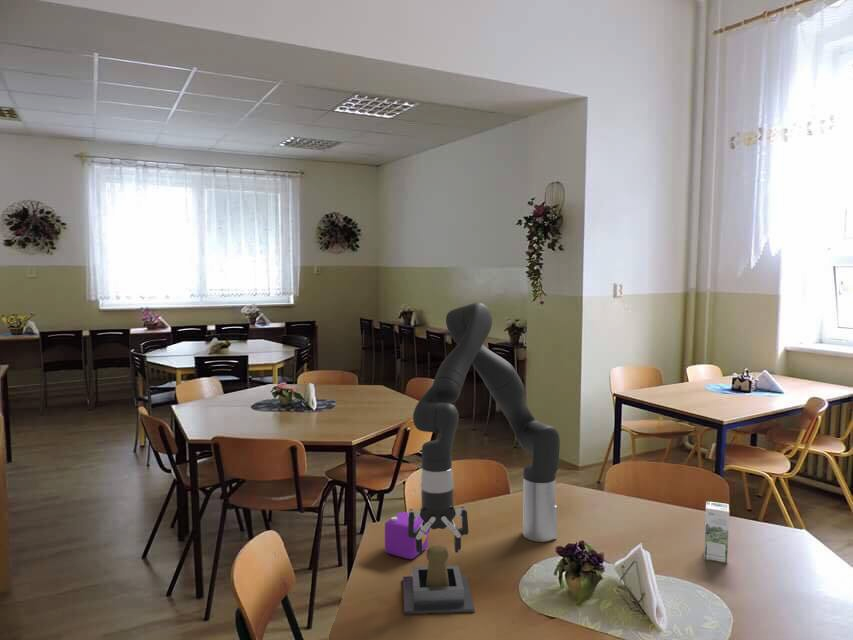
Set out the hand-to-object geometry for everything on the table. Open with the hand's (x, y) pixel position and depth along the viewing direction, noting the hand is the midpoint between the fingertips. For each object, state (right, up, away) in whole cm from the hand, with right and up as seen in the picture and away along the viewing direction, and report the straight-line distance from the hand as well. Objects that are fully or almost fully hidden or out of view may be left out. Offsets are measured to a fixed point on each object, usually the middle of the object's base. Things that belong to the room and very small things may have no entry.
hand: (438, 552), depth 149 cm
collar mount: (0, -11, +1) cm, 11 cm away
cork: (0, -10, +1) cm, 10 cm away
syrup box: (+75, -9, +19) cm, 78 cm away
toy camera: (-8, -9, +26) cm, 28 cm away
